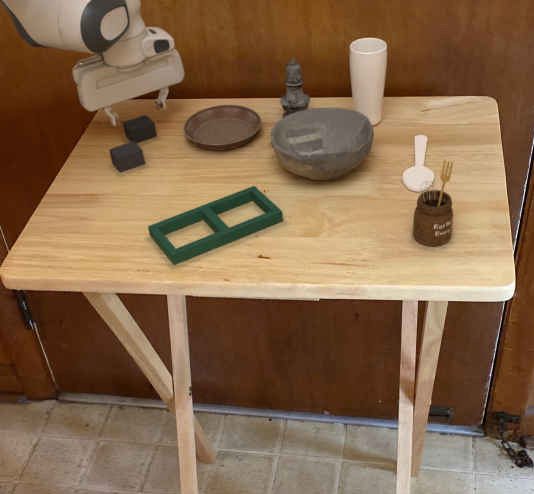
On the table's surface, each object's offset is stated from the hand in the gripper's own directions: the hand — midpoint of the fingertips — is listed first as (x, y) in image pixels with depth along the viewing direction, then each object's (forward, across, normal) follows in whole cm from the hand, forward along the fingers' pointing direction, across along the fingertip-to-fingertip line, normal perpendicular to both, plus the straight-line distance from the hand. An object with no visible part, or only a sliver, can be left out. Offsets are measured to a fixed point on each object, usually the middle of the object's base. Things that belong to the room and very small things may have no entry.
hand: (138, 116), depth 156 cm
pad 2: (+4, -6, -8) cm, 11 cm away
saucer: (+4, +13, -10) cm, 17 cm away
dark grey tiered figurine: (+5, +28, -12) cm, 30 cm away
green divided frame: (+4, -2, -36) cm, 36 cm away
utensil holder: (+4, +25, -58) cm, 63 cm away
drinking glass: (+5, +38, -22) cm, 44 cm away
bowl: (+4, +22, -31) cm, 38 cm away
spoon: (+4, +36, -40) cm, 54 cm away
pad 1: (+4, 0, 0) cm, 4 cm away
